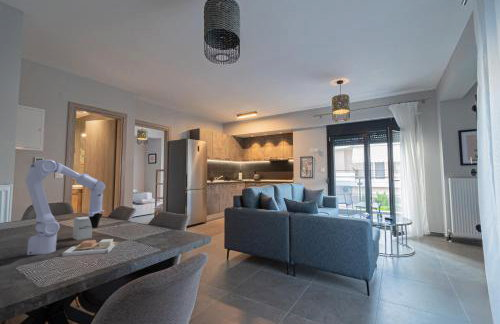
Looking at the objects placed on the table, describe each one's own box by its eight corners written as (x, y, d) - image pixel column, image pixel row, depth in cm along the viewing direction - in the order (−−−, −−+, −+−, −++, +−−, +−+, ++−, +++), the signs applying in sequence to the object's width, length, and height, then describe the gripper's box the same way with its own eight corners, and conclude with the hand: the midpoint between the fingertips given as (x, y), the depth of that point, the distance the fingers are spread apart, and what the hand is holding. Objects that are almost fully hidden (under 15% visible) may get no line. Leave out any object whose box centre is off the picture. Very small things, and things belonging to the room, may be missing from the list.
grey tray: (61, 258, 100) (61, 253, 100) (71, 251, 109) (72, 246, 109) (107, 255, 105) (108, 249, 105) (114, 248, 114) (114, 243, 114)
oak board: (72, 251, 109) (72, 249, 109) (80, 246, 118) (80, 243, 118) (114, 248, 115) (114, 246, 115) (118, 243, 123) (119, 241, 123)
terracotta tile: (80, 247, 112) (80, 243, 113) (84, 244, 117) (84, 240, 117) (92, 246, 114) (92, 242, 114) (95, 243, 119) (95, 239, 119)
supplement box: (76, 242, 125) (78, 219, 126) (72, 240, 129) (73, 217, 130) (92, 239, 131) (93, 217, 132) (87, 237, 135) (88, 216, 136)
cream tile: (98, 246, 115) (99, 242, 115) (102, 243, 119) (102, 239, 120) (110, 245, 116) (110, 241, 116) (112, 242, 121) (113, 238, 121)
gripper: (100, 204, 119) (98, 230, 118) (108, 201, 133) (107, 224, 132) (84, 204, 117) (82, 231, 116) (94, 201, 131) (93, 225, 130)
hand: (94, 227), depth 124 cm, fingers closed
